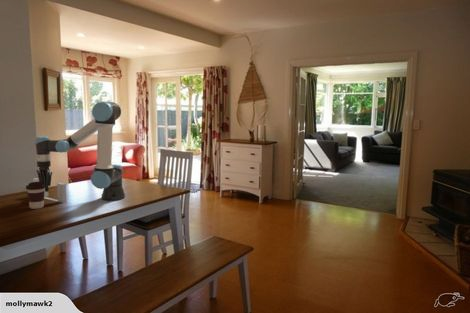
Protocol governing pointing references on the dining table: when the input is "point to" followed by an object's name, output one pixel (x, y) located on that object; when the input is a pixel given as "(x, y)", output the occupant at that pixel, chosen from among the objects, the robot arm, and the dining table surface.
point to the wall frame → (60, 192)
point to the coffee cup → (35, 194)
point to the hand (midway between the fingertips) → (45, 196)
